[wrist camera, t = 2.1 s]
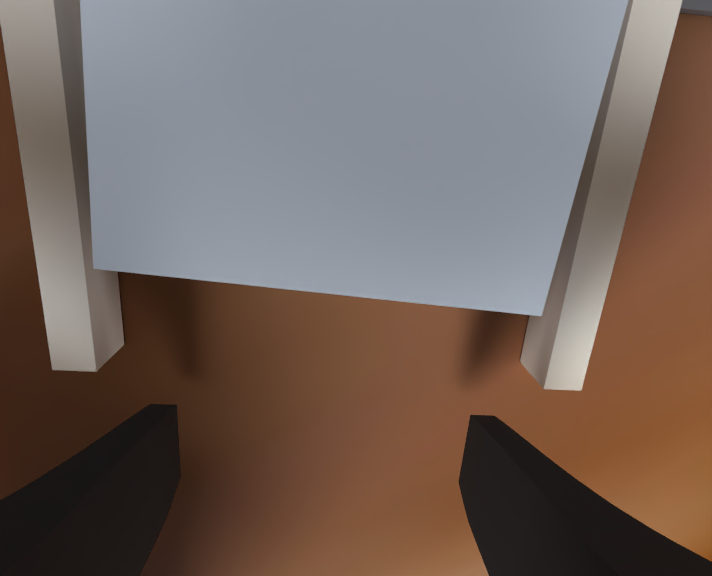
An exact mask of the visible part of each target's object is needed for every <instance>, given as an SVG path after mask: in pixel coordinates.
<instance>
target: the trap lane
mask: <svg viewBox="0 0 712 576" xmlns="http://www.w3.org/2000/svg"><path fill="white" fill-rule="evenodd" d="M679 13H686V14H695V15H705V16H712V0H629V1H628V4H627V8H626V11H625V15H624V19H623V22H622V26H621V30H620V33H619V37H618V41H617V44H616V48H615V51H614V55H613V59H612V62H611V66H610V70H609V73H608V77H607V80H606V84H605V88H604V91H603V95H602V99H601V102H600V106H599V110H598V113H597V117H596V120H595V124H594V128H593V131H592V135H591V139H590V142H589V146H588V150H587V153H586V157H585V160H584V164H583V168H582V171H581V175H580V179H579V182H578V186H577V190H576V193H575V197H574V200H573V204H572V208H571V211H570V215H569V219H568V222H567V226H566V230H565V233H564V237H563V240H562V244H561V248H560V251H559V255H558V259H557V262H556V266H555V270H554V273H553V277H552V280H551V284H550V288H549V291H548V295H547V299H546V302H545V306H544V310H543V313H542V316H534V315H529V320H528V325H527V330H526V335H525V340H524V344H523V349H522V354H521V359H520V362H521V364H522V365H523V366H524V367H525V368H526V369H527V370H528V372H529V373H530V374H531V375H532V376H533V377H534V379H535V380H536V381H537V382H538V383H539V384H540V385H541V387H542V388H543V389H555V390H581V389H582V385H583V382H584V378H585V374H586V370H587V366H588V362H589V358H590V355H591V351H592V347H593V343H594V339H595V335H596V332H597V328H598V324H599V320H600V316H601V312H602V308H603V305H604V301H605V297H606V293H607V289H608V285H609V281H610V278H611V274H612V270H613V266H614V262H615V258H616V255H617V251H618V247H619V243H620V239H621V235H622V231H623V228H624V224H625V220H626V216H627V212H628V208H629V205H630V201H631V197H632V193H633V189H634V185H635V181H636V178H637V174H638V170H639V166H640V162H641V158H642V154H643V151H644V147H645V143H646V139H647V135H648V131H649V128H650V124H651V120H652V116H653V112H654V108H655V104H656V101H657V97H658V93H659V89H660V85H661V81H662V78H663V74H664V70H665V66H666V62H667V58H668V54H669V51H670V47H671V43H672V39H673V35H674V31H675V27H676V24H677V20H678V16H679ZM0 23H1V30H2V37H3V43H4V50H5V57H6V63H7V70H8V77H9V83H10V90H11V97H12V104H13V110H14V117H15V124H16V130H17V137H18V144H19V150H20V157H21V164H22V171H23V177H24V184H25V191H26V197H27V204H28V211H29V218H30V224H31V231H32V238H33V244H34V251H35V258H36V264H37V271H38V278H39V285H40V291H41V298H42V305H43V311H44V318H45V325H46V331H47V338H48V345H49V352H50V358H51V365H52V370H66V371H91V372H97V371H98V370H99V369H100V368H101V367H102V366H103V365H104V364H105V363H106V362H107V361H108V360H109V359H110V358H111V357H112V356H113V355H114V354H115V353H116V352H117V351H118V350H119V349H120V348H121V347H122V346H123V345H124V335H123V325H122V314H121V303H120V292H119V281H118V271H110V270H100V269H93V252H92V232H91V212H90V192H89V172H88V152H87V133H86V113H85V93H84V73H83V53H82V33H81V13H80V0H0Z"/></svg>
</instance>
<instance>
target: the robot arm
mask: <svg viewBox="0 0 712 576" xmlns="http://www.w3.org/2000/svg"><path fill="white" fill-rule="evenodd" d="M180 476H181V474H180V456H179V438H178V420H177V405H162V404H150V405H148V406H147V407H145V408H144V409H142V410H141V411H139V412H138V413H136V414H135V415H133V416H132V417H130V418H129V419H127V420H126V421H125V422H123V423H122V424H120V425H119V426H117V427H116V428H114V429H113V430H112V431H110V432H109V433H107V434H106V435H104V436H103V437H101V438H100V439H98V440H97V441H96V442H94V443H93V444H91V445H90V446H88V447H87V448H85V449H84V450H82V451H81V452H79V453H78V454H76V455H75V456H73V457H72V458H70V459H68V460H67V461H65V462H64V463H62V464H60V465H59V466H57V467H56V468H54V469H52V470H51V471H49V472H48V473H46V474H44V475H43V476H41V477H40V478H38V479H36V480H35V481H33V482H32V483H30V484H28V485H26V486H25V487H23V488H21V489H20V490H18V491H16V492H14V493H13V494H11V495H9V496H7V497H5V498H4V499H2V500H0V576H139V575H140V573H141V571H142V569H143V567H144V565H145V563H146V561H147V558H148V556H149V554H150V552H151V550H152V548H153V546H154V544H155V541H156V539H157V537H158V535H159V533H160V531H161V529H162V527H163V524H164V522H165V520H166V518H167V515H168V512H169V509H170V506H171V504H172V501H173V498H174V495H175V492H176V488H177V485H178V482H179V479H180ZM459 486H460V490H461V494H462V498H463V503H464V506H465V510H466V514H467V518H468V522H469V524H470V527H471V530H472V532H473V535H474V538H475V540H476V543H477V546H478V548H479V551H480V553H481V556H482V559H483V561H484V564H485V566H486V569H487V571H488V574H489V576H712V562H711V561H709V560H707V559H705V558H703V557H701V556H700V555H698V554H696V553H694V552H692V551H690V550H688V549H687V548H685V547H683V546H681V545H679V544H677V543H675V542H674V541H672V540H670V539H668V538H667V537H665V536H663V535H661V534H660V533H658V532H656V531H654V530H653V529H651V528H649V527H648V526H646V525H644V524H643V523H641V522H640V521H638V520H636V519H635V518H633V517H632V516H630V515H628V514H627V513H625V512H623V511H622V510H620V509H619V508H617V507H616V506H614V505H613V504H611V503H610V502H608V501H607V500H605V499H604V498H602V497H601V496H599V495H598V494H596V493H595V492H594V491H592V490H591V489H589V488H588V487H587V486H585V485H584V484H582V483H581V482H579V481H578V480H577V479H575V478H574V477H573V476H571V475H570V474H569V473H567V472H566V471H565V470H563V469H562V468H561V467H559V466H558V465H557V464H555V463H554V462H553V461H552V460H550V459H549V458H548V457H546V456H545V455H544V454H543V453H541V452H540V451H539V450H538V449H536V448H535V447H534V446H533V445H531V444H530V443H529V442H528V441H526V440H525V439H524V438H523V437H521V436H520V435H519V434H518V433H516V432H515V431H514V430H513V429H511V428H510V427H509V426H507V425H506V424H505V423H504V422H502V421H501V420H499V419H498V418H497V417H495V416H485V415H470V420H469V426H468V432H467V437H466V443H465V449H464V454H463V460H462V466H461V471H460V477H459Z"/></svg>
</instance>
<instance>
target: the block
mask: <svg viewBox="0 0 712 576" xmlns="http://www.w3.org/2000/svg"><path fill="white" fill-rule="evenodd" d="M628 1H629V0H80V13H81V33H82V53H83V73H84V93H85V113H86V133H87V152H88V172H89V192H90V212H91V232H92V252H93V269H100V270H110V271H119V272H129V273H138V274H148V275H157V276H166V277H176V278H185V279H195V280H204V281H214V282H223V283H232V284H242V285H251V286H261V287H270V288H279V289H289V290H298V291H308V292H317V293H327V294H336V295H345V296H355V297H364V298H374V299H383V300H393V301H402V302H411V303H421V304H430V305H440V306H449V307H458V308H468V309H477V310H487V311H496V312H506V313H515V314H524V315H534V316H542V313H543V310H544V306H545V302H546V299H547V295H548V291H549V288H550V284H551V280H552V277H553V273H554V270H555V266H556V262H557V259H558V255H559V251H560V248H561V244H562V240H563V237H564V233H565V230H566V226H567V222H568V219H569V215H570V211H571V208H572V204H573V200H574V197H575V193H576V190H577V186H578V182H579V179H580V175H581V171H582V168H583V164H584V160H585V157H586V153H587V150H588V146H589V142H590V139H591V135H592V131H593V128H594V124H595V120H596V117H597V113H598V110H599V106H600V102H601V99H602V95H603V91H604V88H605V84H606V80H607V77H608V73H609V70H610V66H611V62H612V59H613V55H614V51H615V48H616V44H617V41H618V37H619V33H620V30H621V26H622V22H623V19H624V15H625V11H626V8H627V4H628Z"/></svg>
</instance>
